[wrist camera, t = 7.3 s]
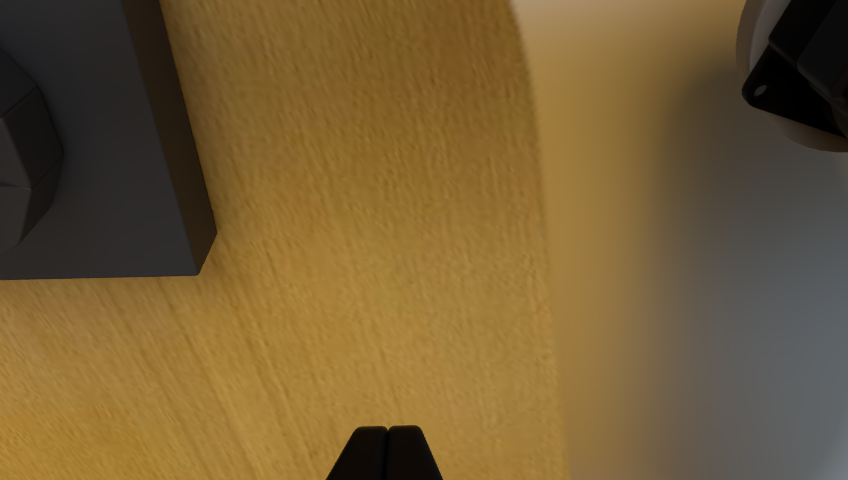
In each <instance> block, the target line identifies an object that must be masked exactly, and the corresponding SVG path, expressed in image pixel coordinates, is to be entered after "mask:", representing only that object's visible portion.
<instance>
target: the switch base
mask: <svg viewBox="0 0 848 480" xmlns="http://www.w3.org/2000/svg"><path fill="white" fill-rule="evenodd" d="M216 235H217V231H216V227H215V223H214V219H213V215H212V211H211V207H210V203H209V200H208V196H207V192H206V188H205V184H204V180H203V176H202V172H201V168H200V164H199V160H198V156H197V152H196V148H195V144H194V140H193V136H192V132H191V128H190V124H189V120H188V116H187V112H186V108H185V104H184V100H183V96H182V92H181V89H180V85H179V81H178V77H177V73H176V69H175V65H174V61H173V57H172V53H171V49H170V45H169V41H168V37H167V33H166V29H165V25H164V21H163V17H162V13H161V9H160V5H159V1H158V0H0V280H28V279H72V278H116V277H159V276H196V275H198V274H199V273H200V270H201V268H202V266H203V264H204V262H205V259H206V257H207V255H208V253H209V251H210V248H211V246H212V244H213V242H214V240H215V237H216Z"/></svg>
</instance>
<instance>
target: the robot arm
mask: <svg viewBox="0 0 848 480" xmlns="http://www.w3.org/2000/svg"><path fill="white" fill-rule="evenodd" d="M768 40H769V44H768V45H767V47H766V49H765V50H764V52H763V53H762V55H761V57H760V58H759V60H758V61H757V63H756V65H755V66H754V68H753V70H752V71H751V73H750V74H749V76H748V78H747V79H746V81H745V82H744V84H743V87H742V96H743V98H744V100H745V101H746V102H747V103H748V104H749V105H750V106H752V107H754V108H757V109H760V110H763V111H766V112H769V113H772V114H775V115H778V116H781V117H784V118H787V119H790V120H793V121H796V122H799V123H802V124H805V125H808V126H811V127H814V128H817V129H820V130H823V131H826V132H829V133H832V134H835V135H838V136H841V137H844V138H847V139H848V0H791V1H790V2H789V4H788V6H787V7H786V9H785V11H784V12H783V14H782V15H781V17H780V19H779V20H778V22H777V24H776V25H775V27H774V28H773V30H772V32H771V33H770V35H769V37H768ZM763 85H766V86H767V87H766V89H765V91H764V92H763V93H762V94H760V95H758V96H754V94H755V91H756V90H757V89H758V88H759V87H761V86H763ZM326 480H443V478H442V476H441V474H440V471H439V469H438V467H437V464H436V462H435V460H434V457H433V455H432V453H431V451H430V448H429V446H428V444H427V441H426V439H425V437H424V434H423V432H422V430H421V429H420V427H418V426H416V425H407V426H392V427H391V428H390V429H389V431H388V430H387V428H386V427H383V426H366V427H358V428H357V429H356V430H355V431H354V432H353V434H352V435H351V437H350V439H349V440H348V442H347V444H346V446H345V447H344V449H343V451H342V453H341V454H340V456H339V458H338V459H337V461H336V463H335V465H334V466H333V468H332V470H331V471H330V473H329V475H328V477H327V478H326Z"/></svg>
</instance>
